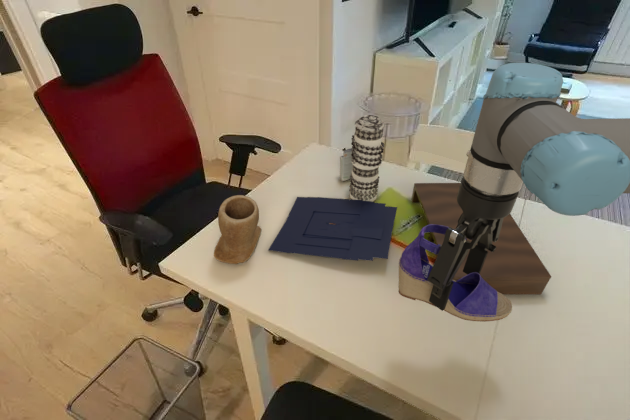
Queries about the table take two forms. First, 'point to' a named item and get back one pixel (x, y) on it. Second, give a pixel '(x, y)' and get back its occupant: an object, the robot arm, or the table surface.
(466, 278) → the sandal
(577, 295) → the table surface
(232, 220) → the stone cup
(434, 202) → the walnut wood board
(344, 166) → the ink box
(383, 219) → the papers
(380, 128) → the decorative candle
